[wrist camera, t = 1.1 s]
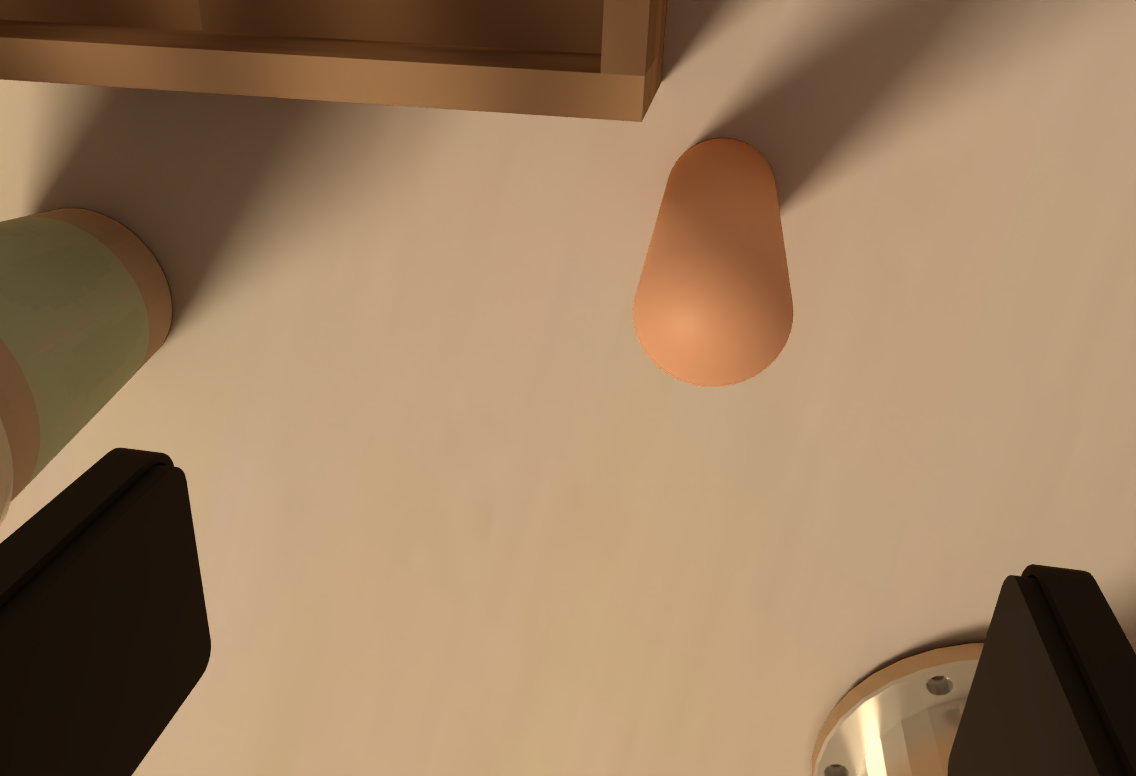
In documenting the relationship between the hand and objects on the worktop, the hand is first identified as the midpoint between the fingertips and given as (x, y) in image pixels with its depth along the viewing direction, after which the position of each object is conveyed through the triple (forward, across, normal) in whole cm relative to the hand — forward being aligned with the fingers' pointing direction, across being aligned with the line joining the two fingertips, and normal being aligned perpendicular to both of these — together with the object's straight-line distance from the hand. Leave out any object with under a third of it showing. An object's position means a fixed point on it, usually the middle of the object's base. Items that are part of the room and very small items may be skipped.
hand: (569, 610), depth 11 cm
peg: (+20, -1, 0) cm, 20 cm away
